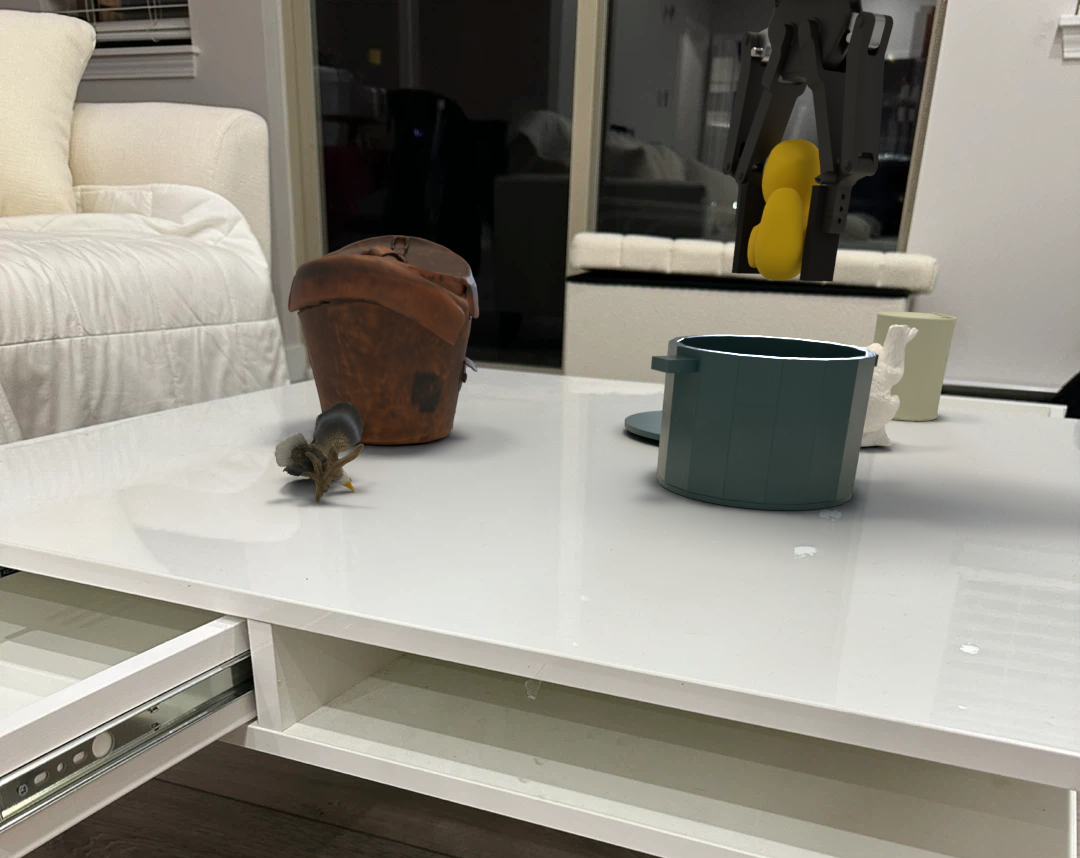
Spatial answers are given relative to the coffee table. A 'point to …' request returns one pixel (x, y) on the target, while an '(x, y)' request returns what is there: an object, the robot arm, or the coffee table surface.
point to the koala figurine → (885, 384)
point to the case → (389, 333)
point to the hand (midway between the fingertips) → (780, 276)
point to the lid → (645, 424)
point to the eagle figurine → (324, 448)
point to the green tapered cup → (919, 361)
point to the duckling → (784, 209)
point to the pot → (762, 420)
